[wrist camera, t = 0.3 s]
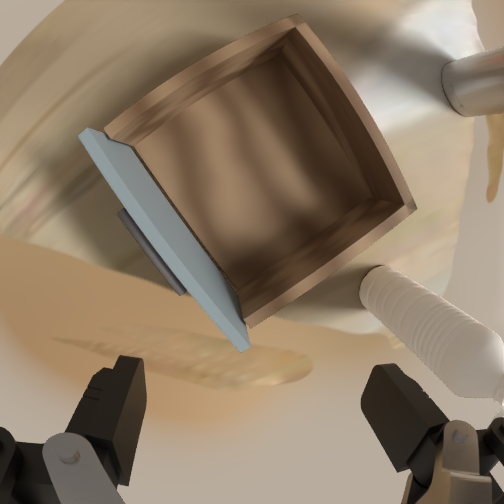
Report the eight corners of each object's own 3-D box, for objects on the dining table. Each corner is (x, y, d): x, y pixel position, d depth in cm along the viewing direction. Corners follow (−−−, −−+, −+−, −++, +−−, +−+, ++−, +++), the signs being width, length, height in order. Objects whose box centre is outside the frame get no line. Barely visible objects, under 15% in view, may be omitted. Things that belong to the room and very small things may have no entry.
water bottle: (351, 282, 37) (485, 403, 13) (389, 255, 37) (539, 342, 13) (372, 328, 39) (480, 446, 15) (407, 302, 39) (527, 398, 15)
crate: (278, 48, 28) (297, 13, 20) (374, 199, 34) (417, 208, 26) (131, 139, 29) (103, 128, 21) (242, 292, 35) (250, 328, 27)
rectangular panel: (126, 141, 28) (87, 127, 18) (240, 298, 34) (250, 346, 24) (111, 153, 28) (67, 146, 18) (225, 308, 34) (229, 359, 24)
